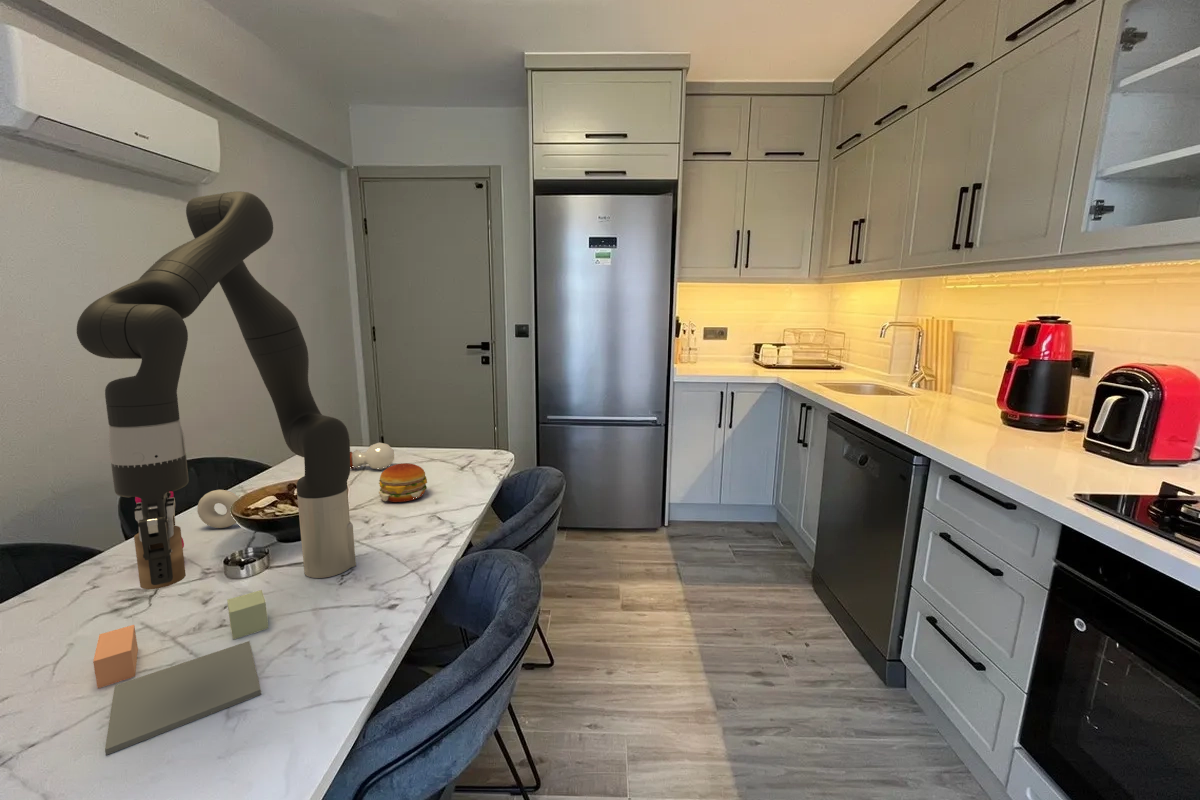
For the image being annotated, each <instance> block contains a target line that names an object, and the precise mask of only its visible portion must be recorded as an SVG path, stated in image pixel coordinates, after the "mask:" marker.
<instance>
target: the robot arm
mask: <svg viewBox="0 0 1200 800" xmlns="http://www.w3.org/2000/svg"><path fill="white" fill-rule="evenodd" d="M185 213H186V215H185V216H186V220H187V223H188V226H189V229H190V231H191V233H192V234H191V235H192V236H193V239H191V240H189V241H187V242H186V243H183V244H181V245H179V246H178V247H176V248H174V249H172V250H170V251H168V252H167V253H165V254H164V255H162V256H161V257H160V258H159V259H157V261H155V262H154V263H153V264H152V265H151V266H150V267H149V268H148V269H147V270H146V271H145V272H144V273H143V274H142V275H141V276H140V277H139V278H138V279H137V280H134V281H132V282H130V283H127V284H125V285H123V286H121V287H119V288H116V289H115V290H113V291H111V292H109V293H106V294H105V295H103V296H101V297H99V298H98V299H96V300H94V301H93V302H92V303H90V304H89V305H88V306H87V307H86V308H85V309H84V310H83V311H82V312H81V314H80V316H79V317H78V321H77V323H76V324H77V325H76V335H77V339H78V341H79V343H80V345H81V346H82V347H83V348H84V350H86V351H87V352H89V353H90V354H92V355H95V356H97V357H100V358H106V359H119V360H120V359H123V360H125V359H126V360H128V359H129V360H130V359H131V360H133V359H134V360H135V359H136V360H138V359H139V360H140V359H141V362H140V366H139V369H138V370H137V372H136V374H135V375H134V376H133V375H131V376H128V377H120V378H117V379H113V380H111V381H110V382H108V383H107V385H106V386H105V390H104V395H105V396H104V398H105V405H106V414H107V421H108V449H109V456H110V465H111V467H110V468H111V473H112V481H113V488H114V493H115V494H116V495H117V496H118V497H123V498H135V497H138V498H141V502H140V503H137V504H136V507H135V508H134V518H135V521H136V522H137V527H138V533H139V539H140V541H141V542H142V545H143V551H144V554H143V558H145V560H148V561H149V569H150V578H151V584H152V585H159V584H163V583H167V582H170V581H172V579H173V572H172V563H171V552H172V549H171V546H170V538H171V537H172V536H173V535H174V526H176V517H175V514H176V512H175V511H176V500H175V499H176V498H175V497H174V496H173V498H170V496H171V492H170V491H173V492H175V491H178V490H180V489H182V488H184V487H186V486H187V485H188V484H189V481H190V479H189V472H188V470H189V469H188V461H187V451H186V441H185V436H184V431H183V427H182V424H181V418H180V411H179V402H178V401H179V400H178V386H179V382H180V377H181V371H182V366H183V362H184V358H185V355H186V350H187V346H188V340H189V338H188V337H189V332H188V329H187V328H188V327H187V325H186V322H185V321H184V320H185V319H186V318H188V317H189V316H191V315H192V314H194V312H195V311H196V310H197V309H198V307H200V305H201V303H202V302H203V301H204V300H205V299H206V298H207V296H208V295H209V294H210V292H211V291H212V290H213V289H214V288H215V286H216V285H218V284H219V286H220V287H221V290H222V291H223V293H224V295H225V297H226V300H227V302H228V304H229V306H230V309H231V310H232V312H233V315H234V317H235V319H236V322H237V324H238V327H239V329H240V332H241V334H242V337H243V339H244V342H245V344H246V347H247V349H248V350H249V353H250V356H251V357H252V359H253V362H254V363H255V365H256V368H257V369H258V371H259V374H260V377H261V378H262V381H263V383H264V386H265V387H266V390H267V392H268V394H269V396H270V398H271V400H272V403H273V405H274V409H275V412H276V415H277V418H278V423H279V426H280V429H281V432H282V435H283V439H284V441H285V444H286V446H287V447H288V449H289V450H290V451H291V452H292V453H294V454H295V455H297V456H298V457H301V458H304V459H303V462H304V476H302V477H301V478H299V479H298V480H297V482H296V497H297V507H298V516H299V517H298V519H299V528H300V541H301V550H302V561H303V565H302V566H303V572H304V575H305V576H306V577H308V578H313V579H323V578H329V577H334V576H337V575H340V574H343V573H344V572H346V571H348V570H350V568H355V567H357V565H356V564H357V563H356V550H355V534H354V526H353V523H352V522H351V518H350V516H351V515H350V507H349V506H350V505H349V492H348V479H349V478H350V473H351V468H350V452H351V441H350V440H351V439H350V434H349V431H348V427H347V426H346V424H345V423H344V422H343V421H341V420H340V419H338V418H336V417H333V416H328V415H323V414H322V412H321V411H320V409H319V407H318V406H317V404H316V401H315V398H314V396H313V394H312V392H311V388H310V384H309V367H310V366H309V364H310V362H309V361H310V360H309V351H308V347H307V342H306V339H305V338H304V335H303V333H302V330H301V328H300V325H299V323H298V320H297V318H296V315H294V313H293V312H292V311H291V310H290V309H289V308H288V306H286V305H285V304H284V303H283V302H282V301H280V300H279V299H278V298H277V297H276V296H275V295H273V294H272V293H271V292H269V291H268V290H267V289H266V288H265V287H264V286H263V285H262V284H261V283H259V282H258V280H256V279H255V277H254V276H253V275H252V273H251V272H250V270H249V269H248V267H247V265H246V263H245V261H244V260H245V259H247V258H248V257H249V256H251V255H252V254H253V253H254V252H256V251H257V250H260V249H261V248H262V247H264V246H265V245H266V244H267V243H268V242H269V241H270V240H271V238H272V237H273V233H274V221H273V218H272V215H271V212H270V210H269V209H268V207H267V206H266V204H265V203H264V201H262V200H261V199H260V198H259V197H258V196H257V195H255V194H254V193H250V192H248V191H237V190H236V191H229V192H222V193H216V194H215V193H214V194H210V195H203V196H197V197H193V198H191V199H190V200H189V201H188V202H187V204H186V207H185ZM169 492H170V493H169ZM167 526H168V530H167ZM158 543H163V545H164V547H163V548H158V549H153V550H151V545H152V544H158Z"/></svg>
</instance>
